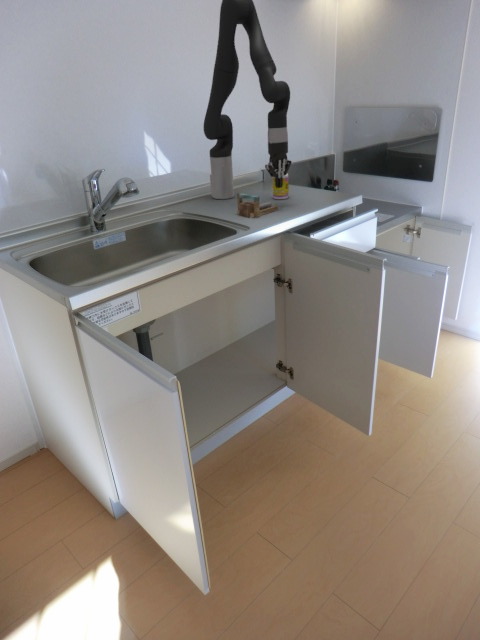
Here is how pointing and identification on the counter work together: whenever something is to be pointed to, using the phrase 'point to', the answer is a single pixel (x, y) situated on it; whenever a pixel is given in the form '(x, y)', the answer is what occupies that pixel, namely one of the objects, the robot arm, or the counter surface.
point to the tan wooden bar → (265, 205)
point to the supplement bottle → (281, 189)
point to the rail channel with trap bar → (256, 205)
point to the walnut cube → (246, 208)
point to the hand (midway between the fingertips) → (279, 187)
